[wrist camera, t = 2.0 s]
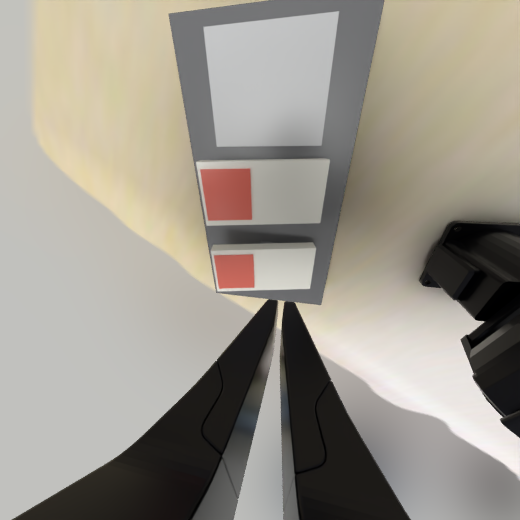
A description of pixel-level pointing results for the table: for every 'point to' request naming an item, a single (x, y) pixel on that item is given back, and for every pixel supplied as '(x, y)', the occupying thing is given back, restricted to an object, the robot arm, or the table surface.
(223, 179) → the rocker
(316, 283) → the rocker switch panel
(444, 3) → the table surface
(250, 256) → the rocker
